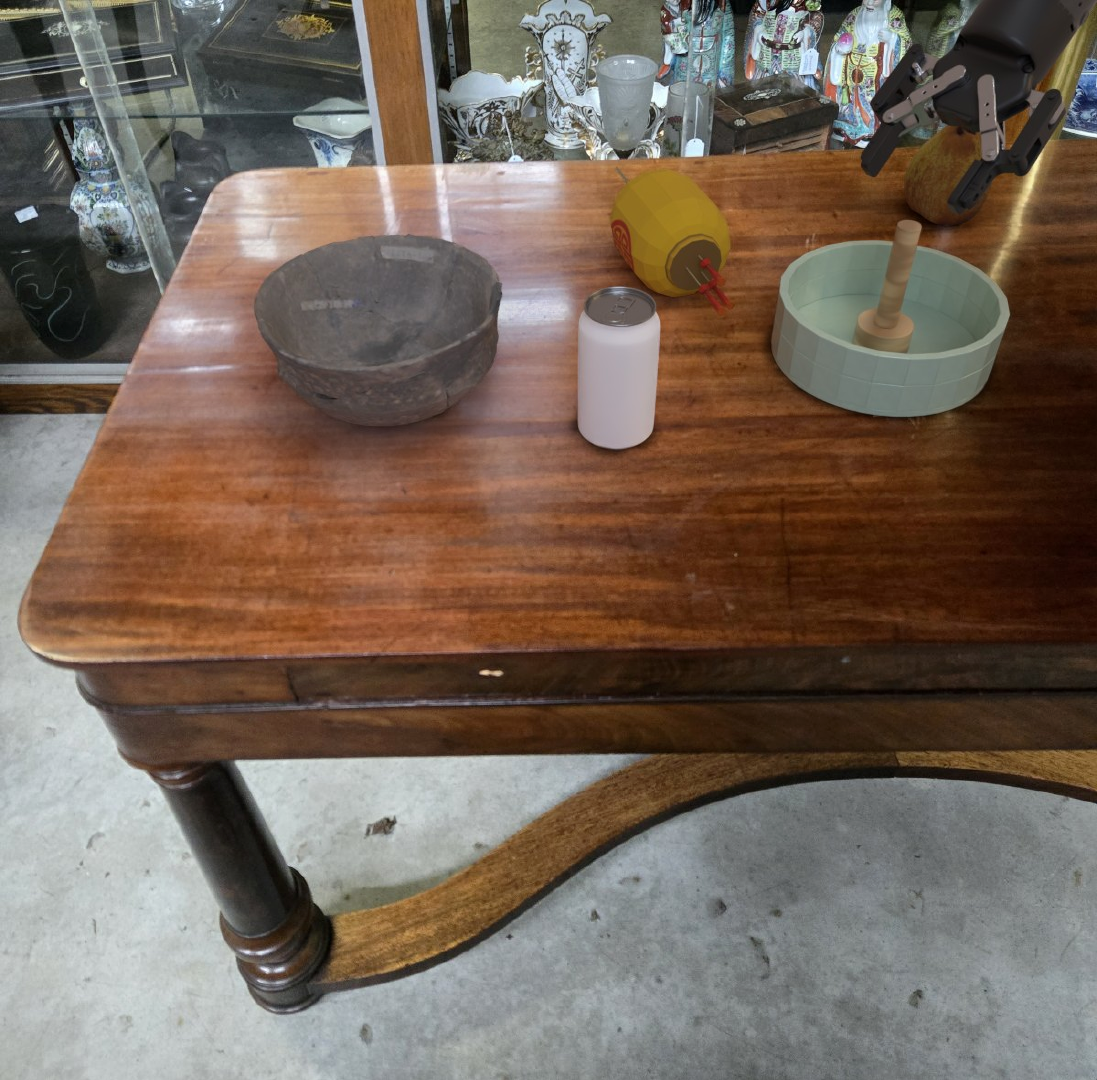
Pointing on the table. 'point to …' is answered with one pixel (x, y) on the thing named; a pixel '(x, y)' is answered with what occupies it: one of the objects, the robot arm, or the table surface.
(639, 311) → the can
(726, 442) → the table surface
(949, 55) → the robot arm
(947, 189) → the fruit
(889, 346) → the wooden stamp
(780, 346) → the mixing bowl
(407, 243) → the bowl
